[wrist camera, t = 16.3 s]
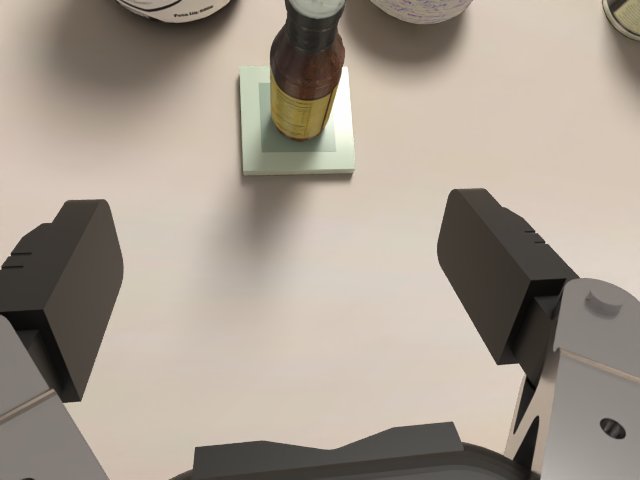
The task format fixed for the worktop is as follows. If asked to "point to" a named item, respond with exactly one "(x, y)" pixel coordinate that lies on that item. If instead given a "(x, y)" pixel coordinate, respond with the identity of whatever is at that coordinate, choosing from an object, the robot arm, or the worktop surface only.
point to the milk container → (173, 9)
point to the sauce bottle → (306, 67)
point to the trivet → (286, 154)
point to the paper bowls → (423, 9)
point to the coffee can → (624, 16)
